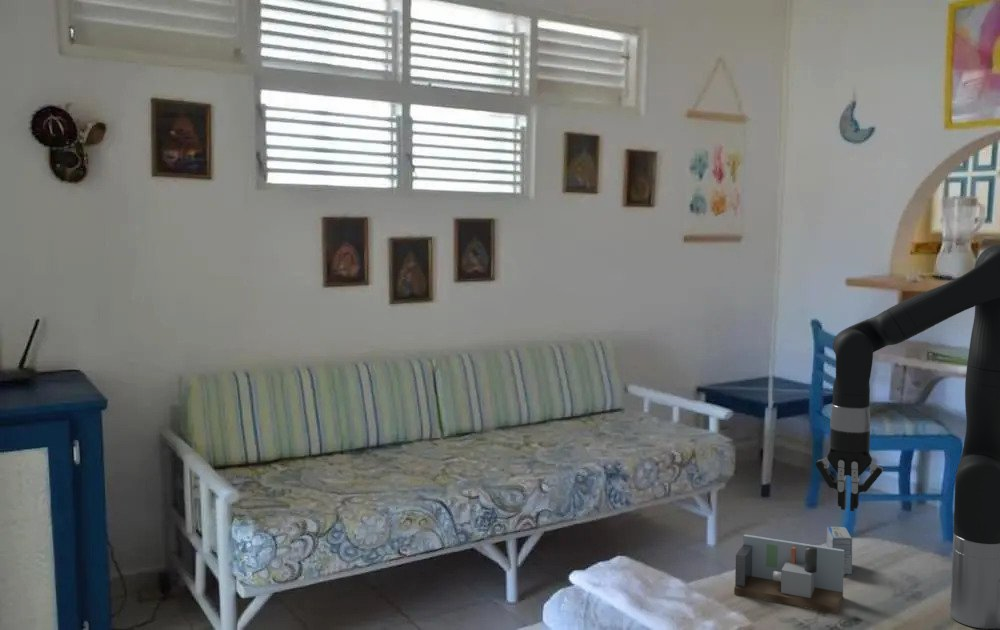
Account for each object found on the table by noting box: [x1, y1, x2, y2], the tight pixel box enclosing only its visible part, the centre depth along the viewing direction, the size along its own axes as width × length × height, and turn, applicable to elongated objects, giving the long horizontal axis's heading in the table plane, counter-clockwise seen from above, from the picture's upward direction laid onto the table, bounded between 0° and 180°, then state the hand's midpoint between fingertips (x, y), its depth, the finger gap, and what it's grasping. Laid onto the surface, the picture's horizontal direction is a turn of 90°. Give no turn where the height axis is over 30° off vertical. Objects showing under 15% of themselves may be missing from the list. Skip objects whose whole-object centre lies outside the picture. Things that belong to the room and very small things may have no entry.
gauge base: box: [733, 576, 844, 614], centre depth 186 cm, size 21×9×2 cm, turn 61°
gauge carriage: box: [773, 546, 817, 598], centre depth 185 cm, size 9×6×10 cm, turn 61°
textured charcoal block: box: [734, 545, 752, 588], centre depth 190 cm, size 2×7×7 cm, turn 152°
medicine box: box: [826, 526, 853, 575], centre depth 201 cm, size 8×4×9 cm, turn 168°
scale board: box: [742, 534, 845, 593], centre depth 189 cm, size 21×1×9 cm, turn 61°
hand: (847, 509), depth 178 cm, fingers closed
